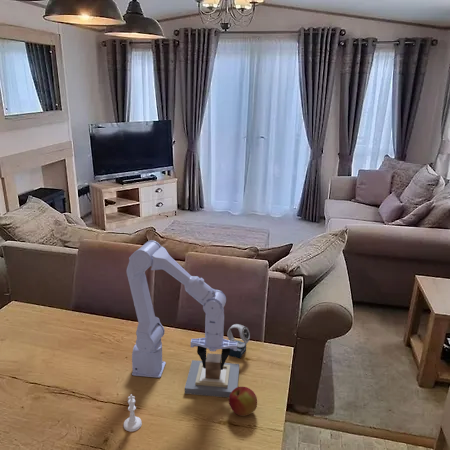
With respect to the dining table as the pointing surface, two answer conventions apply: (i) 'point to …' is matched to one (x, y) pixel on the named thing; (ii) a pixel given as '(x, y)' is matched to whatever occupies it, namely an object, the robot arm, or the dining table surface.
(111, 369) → the dining table surface
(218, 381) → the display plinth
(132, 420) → the chess piece
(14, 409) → the dining table surface
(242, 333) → the watch
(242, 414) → the apple
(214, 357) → the walnut block
